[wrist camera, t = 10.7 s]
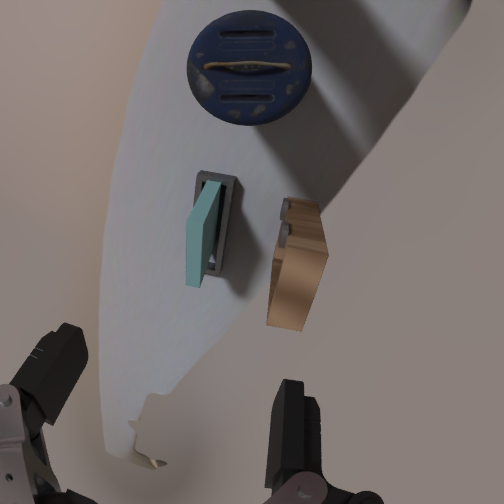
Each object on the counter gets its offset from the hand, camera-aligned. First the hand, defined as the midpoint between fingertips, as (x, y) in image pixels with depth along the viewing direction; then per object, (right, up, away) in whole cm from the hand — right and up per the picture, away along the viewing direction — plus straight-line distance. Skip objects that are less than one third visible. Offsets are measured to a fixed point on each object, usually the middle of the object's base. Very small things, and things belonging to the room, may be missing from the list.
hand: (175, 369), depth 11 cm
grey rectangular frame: (-3, +8, +34) cm, 35 cm away
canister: (+4, +26, +23) cm, 35 cm away
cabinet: (+9, +7, +33) cm, 35 cm away
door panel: (-3, +10, +32) cm, 33 cm away
